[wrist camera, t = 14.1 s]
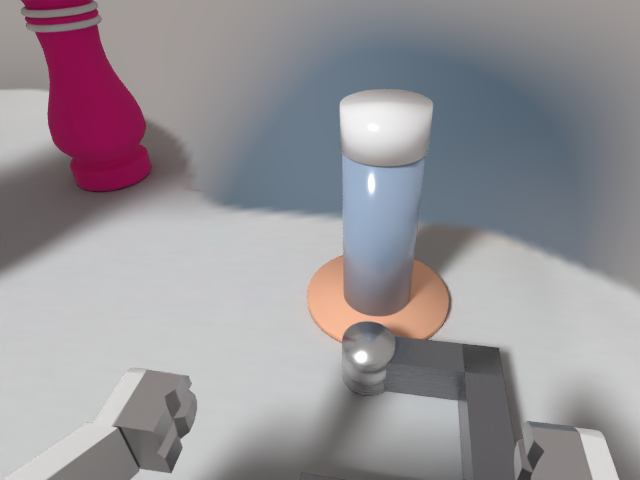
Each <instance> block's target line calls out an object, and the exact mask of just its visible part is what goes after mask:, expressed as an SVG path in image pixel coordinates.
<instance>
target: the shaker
mask: <svg viewBox="0 0 640 480" xmlns="http://www.w3.org/2000/svg"><path fill="white" fill-rule="evenodd" d="M432 111H433V103H432V101H431V100H430V99H429V98H427V97H425V96H423V95H421V94H417V93H414V92H410V91H405V90H396V89H376V90H367V91H362V92H357V93H354V94H351V95H349V96H347V97H345V98H344V99H343V100H342V101H341V102H340V149H341V152H342V158H343V161H342V162H343V294H344V298H345V301H346V302H347V304H348V305H349V306H350V307H351V308H353V309H354V310H356V311H357V312H360V313H362V314H365V315H369V316H378V317H379V316H389V315H392V314H395V313H397V312H399V311H401V310H402V309H404V308H405V307H406V306H407V304H408V302H409V300H410V294H411V285H412V275H413V266H414V257H415V247H416V238H417V229H418V219H419V209H420V200H421V191H422V181H423V172H424V163H425V155H426V154H427V152H428V147H429V138H430V129H431V120H432Z"/></svg>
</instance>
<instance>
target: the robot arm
mask: <svg viewBox="0 0 640 480" xmlns="http://www.w3.org/2000/svg"><path fill="white" fill-rule="evenodd" d="M191 384H192V383H191V381H190V378H189V376H187V375H180V374H174V373H167V372H160V371H153V370H148V369H140V368H133V367H132V368H130V369H129V370H128V371H127V372H126V373H125V374H124V375H123V377H122V379H121V380H120V382H119V383H118V385H117V386H116V388H115V389H114V391H113V393H112V394H111V396H110V397H109V399H108V400H107V402H106V403H105V405H104V407H103V408H102V410H101V411H100V413H99V414H98V416H97V417H96V419H95V421H94V422H93V423H86V424H85V425H83V426H82V427H80V428H79V429H77V430H76V431H74V432H73V433H71V434H70V435H68V436H67V437H65V438H64V439H62V440H61V441H59V442H58V443H56V444H55V445H53V446H52V447H50V448H49V449H47V450H46V451H44V452H43V453H41V454H40V455H38V456H37V457H35V458H34V459H32V460H31V461H29V462H28V463H27V464H25V465H24V466H22V467H21V468H19V469H18V470H16V471H15V472H13V473H12V474H10V475H9V476H7V477H6V478H4V479H3V480H130V479H131V478H132V477H133V476H135V475H136V474H137V473H138V472H139V469H145V470H152V471H159V472H166V473H172V470H173V468H174V466H175V464H176V461H177V459H178V457H179V455H180V453H181V450H182V448H183V447H182V443H181V438H182V437H183V436H185V435H186V434H187V433H189V432H190V430H191V428H192V425H193V423H194V421H195V416H196V411H197V400H196V396H195V394H194V393H192V392H191V391H190V390H189V388H190V386H191ZM522 433H523V438H522V439H520V440H518V441H517V444H516V447H515V453H514V472H515V479H516V480H619V477H618V474H617V471H616V468H615V466H614V463H613V460H612V457H611V454H610V451H609V448H608V445H607V442H606V439H605V437H604V435H603V434H602V433H601V431H598V430H592V429H584V428H576V427H573V426H565V425H557V424H548V423H540V422H531V421H527V422H525V423H524V426H523V428H522Z"/></svg>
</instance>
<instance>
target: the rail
mask: <svg viewBox="0 0 640 480" xmlns="http://www.w3.org/2000/svg"><path fill="white" fill-rule="evenodd" d="M342 369H343V380H344V382H345V384H346V385H347V387H348V388H349V389H351V390H352V391H353V392H355V393H357V394H360V395H365V396H373V395H377V394H380V393H382V392H384V391H390V392H398V393H405V394H413V395H420V396H428V397H436V398H443V399H451V400H458V408H459V423H460V438H461V453H462V468H463V480H516V479H515V472H514V453H515V442H514V436H513V430H512V424H511V418H510V412H509V406H508V400H507V394H506V388H505V382H504V376H503V370H502V364H501V358H500V352H499V348H495V347H486V346H477V345H468V344H459V343H450V342H441V341H432V340H423V339H414V338H405V337H396V336H394V335H393V333H392V332H391V331H390V330H389V329H388V328H387V327H385V326H384V325H382V324H379V323H376V322H371V321H364V322H359V323H356V324H353V325H352V326H350V327H349V328H348V329H347V330H346V331H345V332H344V334H343V337H342ZM300 480H343V479H337V478H331V477H325V476H318V475H312V474H306V473H301V477H300Z"/></svg>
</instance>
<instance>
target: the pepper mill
mask: <svg viewBox="0 0 640 480" xmlns="http://www.w3.org/2000/svg"><path fill="white" fill-rule="evenodd" d="M21 1H22V2H23V3H24V5H25V7H23V8H22V9H21V13H22V15H24V16H26V17H25V20H26V21H27V23H26V27H27V28H28V29H29V30H31V31H34V32H35V33H36V35H37V38H38V40H39V42H40V44H41V46H42V48H43V51H44V55H45V58H46V62H47V65H48V70H49V78H50V91H49V103H48V125H49V129H50V133H51V136H52V139H53V142H54V143H55V145H56V146H57V147H58V148H59V149H60V150H61V151H62V152H64V153H65V154H67V155H69V156H71V157H73V159H72V161H71V164H70V167H71V170H72V172H73V175H74V178H75V180H76V183H77V184H78V185H79V186H80V187H81V188H83V189H85V190H90V191H111V190H117V189H121V188H124V187H127V186H130V185H133V184H135V183H137V182H139V181H141V180H142V179H144V178H145V177H146V176H147V175H148V174H149V172H150V170H151V164H150V160H149V157H148V153H147V150H146V148H145V147H143V146H142V145H140V144H139V143H140V141H141V139H142V138H143V136H144V133H145V130H146V123H145V120H144V117H143V114H142V112H141V109H140V107H139V105H138V104H137V102H136V100H135V99H134V97H133V96H132V95H131V93H130V92H129V91H128V89H127V88H126V87H125V86H124V84H123V83H122V82H121V80H120V79H119V78H118V76H117V75H116V73H115V72H114V71H113V69H112V67H111V65H110V64H109V61H108V60H107V58H106V55H105V52H104V50H103V47H102V44H101V41H100V36H99V31H98V26H97V24H98V23H100V22H101V20H102V18H101V16H100V15H98V11H97V9H96V8H97V7H98V4H97V3H96V2H95V1H93V0H21Z"/></svg>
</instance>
